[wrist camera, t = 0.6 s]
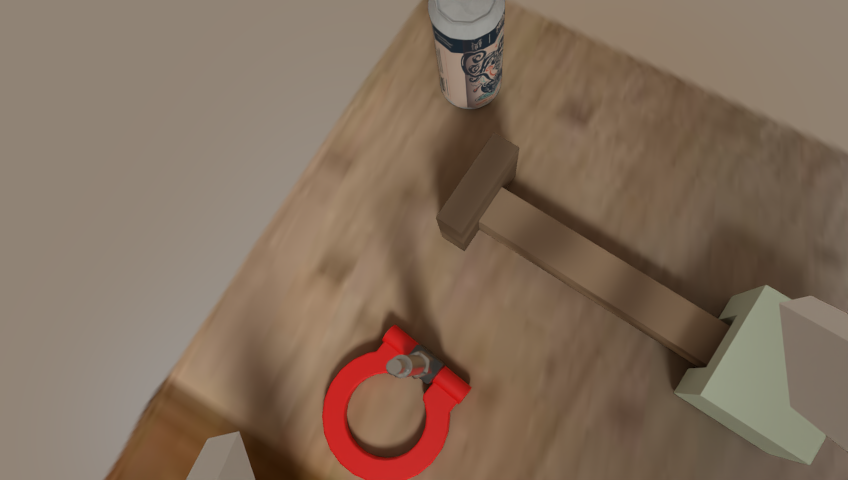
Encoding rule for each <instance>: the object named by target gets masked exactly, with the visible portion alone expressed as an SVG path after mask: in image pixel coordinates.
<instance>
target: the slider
mask: <svg viewBox="0 0 848 480" xmlns="http://www.w3.org/2000/svg"><path fill="white" fill-rule="evenodd" d="M790 300H792V299H790V298H788V297H787V296H785V295H783V294H781V293H780V292H778V291H776V290H775V289H773V288H771V287H770V286H768V285H763V286H760V287H758V288H755V289H752V290H749V291H746V292H743V293H740V294H737V295H734V296H732V297H731V298H730V300H729V302H728V303H727V305H726V307H725V308H724V310H723V312H722V313H721V315H720V317H719V318H718V319H719V320H721V321H722V322H724V323H726V324H727V325H729V326H731V327H730V328H729V330H728V332H727V333H726V335H725V337H724V338H723V340H722V342H721V343H720V345H719V347H718V348H717V350H716V352H715V353H714V355H713V357H712V358H711V360H710V362H709V363H708V365H707V367H705V368H688V370H687V371H686V373H685V375H684V376H683V378H682V380H681V381H680V383H679V385H678V386H677V388H676V390H675V391H674V394H676V395H677V396H679V397H681V398H682V399H684V400H685V401H687V402H688V403H690V404H691V405H693V406H695V407H696V408H698V409H699V410H701V411H702V412H704V413H705V414H707V415H709V416H710V417H712V418H713V419H715V420H716V421H718V422H719V423H721V424H722V425H724V426H726V427H727V428H729V429H730V430H732V431H733V432H735V433H736V434H738V435H740V436H741V437H743V438H744V439H746V440H747V441H749V442H750V443H752V444H754V445H755V446H757V447H758V448H760V449H761V450H763V451H764V452H766V453H768V454H770V455H774V456H778V457H781V458H785V459H789V460H792V461H796V462H800V463H803V464H807V465H811V463H812V461H813V459H814V458H815V456H816V454H817V452H818V451H819V449H820V447H821V445H822V443H823V442H824V440H825V438H826V436H827V435H825V434H824V433H823V432H822V431H820V430H819V429H818V428H817V427H815V426H814V425H813V424H812V423H810V422H809V421H808V420H807V419H805V418H804V417H803V416H802V415H800V414H799V413H798V412H797V411H795V410H794V409H793V408H791V407H790V400H789V390H788V381H787V372H786V363H785V353H784V344H783V335H782V326H781V316H780V307H779V303H781V302H785V301H790Z"/></svg>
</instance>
